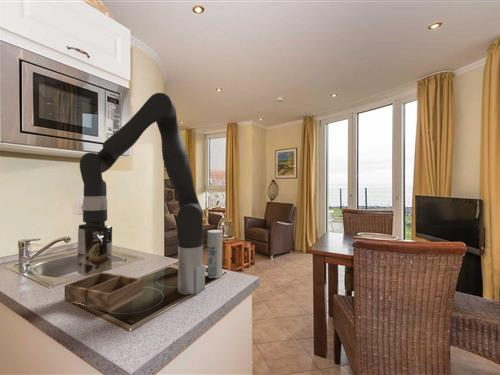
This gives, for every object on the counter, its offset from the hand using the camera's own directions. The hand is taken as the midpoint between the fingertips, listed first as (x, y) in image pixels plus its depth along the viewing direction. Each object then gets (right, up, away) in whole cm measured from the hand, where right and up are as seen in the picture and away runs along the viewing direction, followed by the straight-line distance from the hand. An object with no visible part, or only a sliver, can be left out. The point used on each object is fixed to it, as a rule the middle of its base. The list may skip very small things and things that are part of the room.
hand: (95, 253), depth 88 cm
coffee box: (0, -7, 0) cm, 7 cm away
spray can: (+41, -15, +19) cm, 48 cm away
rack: (+5, -15, -2) cm, 16 cm away
